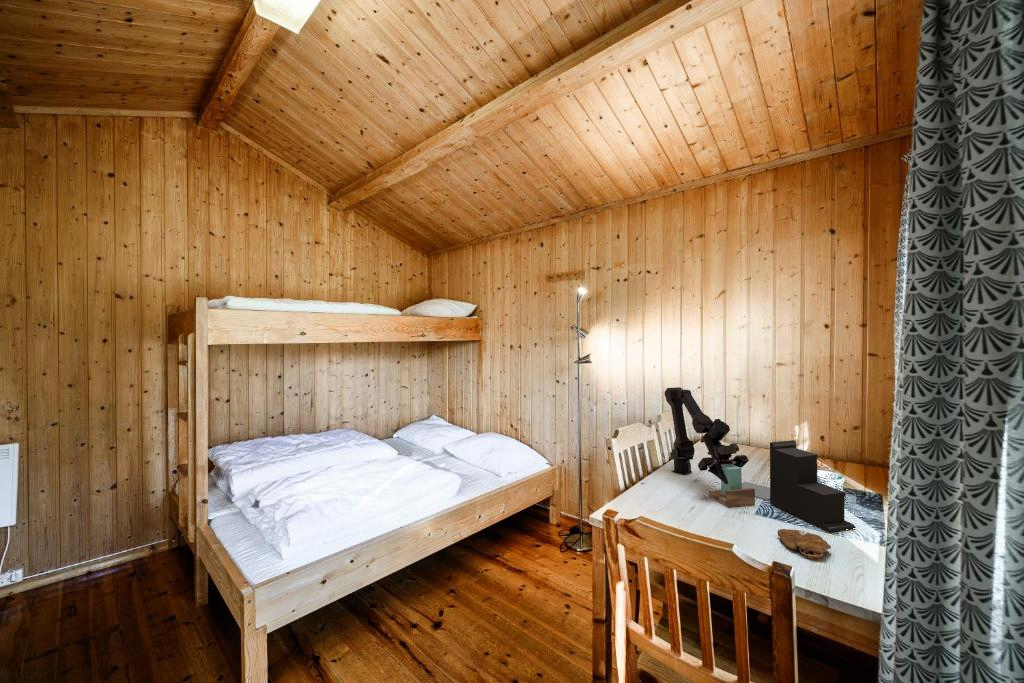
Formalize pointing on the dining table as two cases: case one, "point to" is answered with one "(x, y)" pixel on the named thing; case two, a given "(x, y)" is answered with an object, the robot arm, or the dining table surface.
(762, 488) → the slate mat
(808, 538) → the decorative rock
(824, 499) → the bookend
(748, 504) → the walnut ledge
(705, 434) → the robot arm
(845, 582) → the dining table surface
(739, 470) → the teal block
